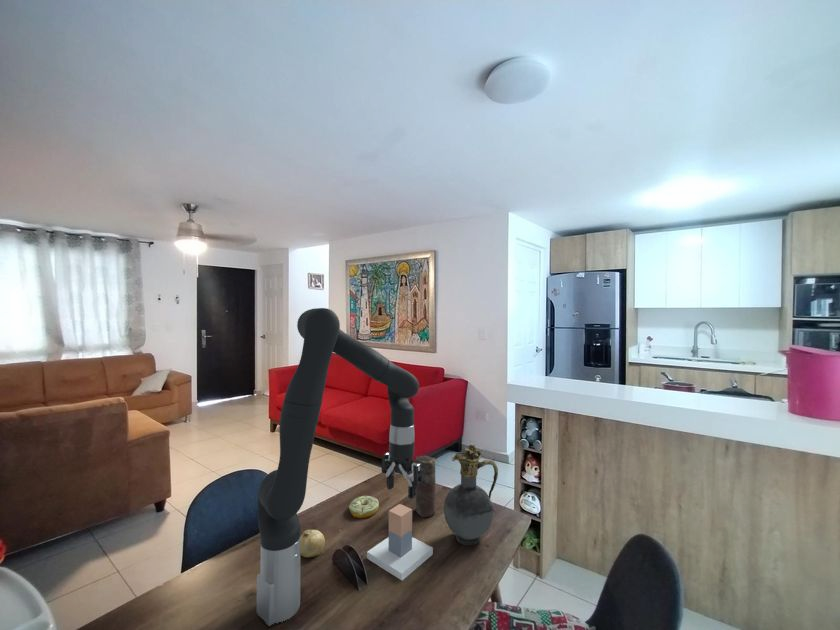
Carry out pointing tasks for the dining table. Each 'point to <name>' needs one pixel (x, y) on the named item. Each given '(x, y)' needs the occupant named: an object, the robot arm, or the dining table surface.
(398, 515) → the peach block
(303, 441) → the robot arm
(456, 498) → the pitcher
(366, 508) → the decorated donut
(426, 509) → the brown cylinder
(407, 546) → the slate block
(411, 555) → the white flat square slab
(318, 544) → the onion
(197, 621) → the dining table surface
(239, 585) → the dining table surface
